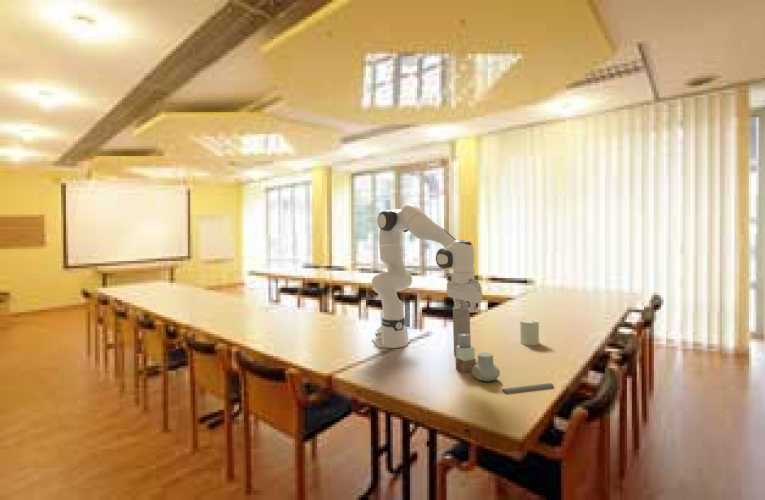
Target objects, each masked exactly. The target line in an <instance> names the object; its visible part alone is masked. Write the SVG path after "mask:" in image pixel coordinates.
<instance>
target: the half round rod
mask: <svg viewBox="0 0 765 500" xmlns="http://www.w3.org/2000/svg"><path fill="white" fill-rule="evenodd" d="M554 388H555V386H554V384H553V383H552V382H548V383H547V382H546V383H539V384H532V385H531V384H529V385H524V386H515V387H505V388H502V390H501V391H502V392H504V393H505V394H506V395H513V394H514V395H515V394H521V393H522V394H523V393H528V392H529V393H530V392H536V391H537V392H538V391H546V390H553V389H554Z"/></svg>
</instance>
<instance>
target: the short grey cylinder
mask: <svg viewBox="0 0 765 500" xmlns="http://www.w3.org/2000/svg"><path fill="white" fill-rule="evenodd" d="M471 336H472V335H471V333H470V334H459V347H460V348H470V347H471V346H472V344H471V342H472V341H471V339H472V338H471Z"/></svg>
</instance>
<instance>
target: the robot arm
mask: <svg viewBox="0 0 765 500" xmlns="http://www.w3.org/2000/svg"><path fill="white" fill-rule="evenodd" d="M376 220H377V225H378V227H379V235H378V237H379V238H378V243H379V259H380V261H381V262H382V264H384V265H385V266H386V269H387V271H385V272H381V273H378V274H376V275H374V276H373V278H372V279H371V287H372V289H373V292H375V293H376V294H378V296H379V298H380V301H381V305H382V306H381V307H382V317H381V325H380V326H379V327H378V328H377V329H376V332H375V337H372V342H373V343H374V344H375V345H376V346H377V347H378V348H388V349H391V348H392V349H397V348H403V347H406V346H408V345H409V343H411V339H409V333H408V328H407V326H406V325H405V324H406V318H405V310H404V309H405V304H404V302H403V301H402V300H401V299H399V297H398V293H397V292H400V291H404V290H406V289H408V288H410V287H411V285H412V282H413V277H412V274H411V273H410V272H409V271H408V270H407V269H406V267H405V264H404V262H403V259H402V251H401V250H402V249H401V238H400V236H401V233H402V232H404V233H407V232H409V233H410V234H411V235H413V236H414V237H415V238H417V239H420V240H425V241H426V240H427V241H433V242H435V243H439V244H440V245H441V246H443V247H442V248H439V249H438V251H437V252H436V255H435V263H436V265H437V267H439V268H440V269H442V270H452V273H451V274H448V275H446V281H447V282H446V294H447V296H448V297H449V298H452V301H453V303H455V308H457V309H460V304H459V301H458V300H459V299H460V300H464V301H466V302H467V303H469V312H470V314H471V313H475V308H476V306H477V304H480V303H482V302H483V290H482V286H481V283H480V282H479V280H476V279H475V267H474V264H475V250H474V245H473V243H472V242H471V241H469V240H467V239H466V240H465V239H456V238H455V237H454V236H453V235H451V233H449V232H448V231H447V230H446V229H444V228H443V227H441V226H440V225H438V224H437V223H436V222H434V221H433V220H432V219H431V218H430V217H429V216H428V215H427V214H425V212H424V211H423V210H422V209H421V208H419V207H418V206H416V205H415V204H412V203H408V204H405V205H404V206H402V207H401V208H399V209H398V208H397V209H386V210H382V211H381V212H380V213H379V214H378V216H377V219H376Z"/></svg>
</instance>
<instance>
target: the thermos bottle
mask: <svg viewBox="0 0 765 500" xmlns="http://www.w3.org/2000/svg"><path fill="white" fill-rule="evenodd" d="M458 301H459V304H460V309H457V308H455V303H454V302H453V303H454V304H453V307H452V324H453V325H452V329H453V333H452V334H453V336H452V337H453V354H454V355H455V356H456V346H459V334H470V335H471V315H470V314H471V312H469V308H470V306H469V302H468V301H464V300H460V299H459V300H458Z"/></svg>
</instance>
